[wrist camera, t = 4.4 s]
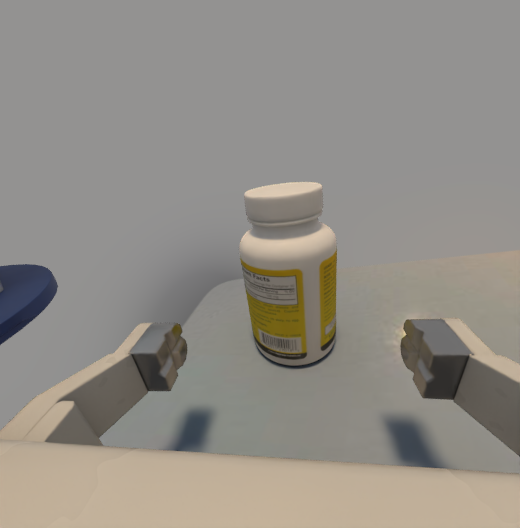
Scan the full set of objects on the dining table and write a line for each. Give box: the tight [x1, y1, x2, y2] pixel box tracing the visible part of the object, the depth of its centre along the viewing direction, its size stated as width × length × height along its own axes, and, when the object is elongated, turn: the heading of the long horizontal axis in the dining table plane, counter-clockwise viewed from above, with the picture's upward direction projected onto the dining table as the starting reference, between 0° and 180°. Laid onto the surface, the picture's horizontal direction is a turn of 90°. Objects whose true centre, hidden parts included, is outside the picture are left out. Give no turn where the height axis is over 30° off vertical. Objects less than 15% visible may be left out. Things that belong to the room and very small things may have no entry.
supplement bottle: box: [239, 182, 337, 366], centre depth 14 cm, size 5×5×10 cm
